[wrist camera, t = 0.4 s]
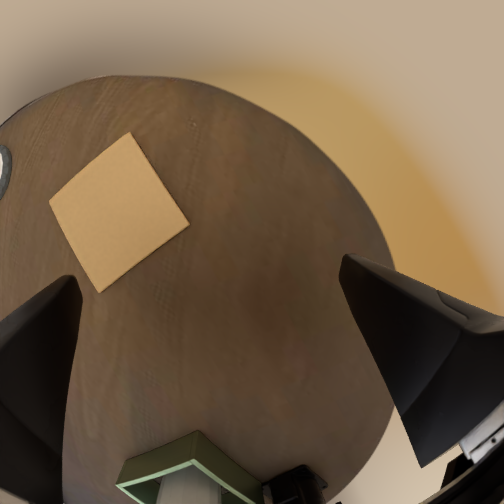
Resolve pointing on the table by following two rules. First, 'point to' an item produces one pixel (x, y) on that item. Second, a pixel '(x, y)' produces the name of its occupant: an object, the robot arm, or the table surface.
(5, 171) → the stove knob
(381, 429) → the table surface
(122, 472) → the green square frame
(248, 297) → the table surface
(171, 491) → the cup
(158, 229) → the coaster
